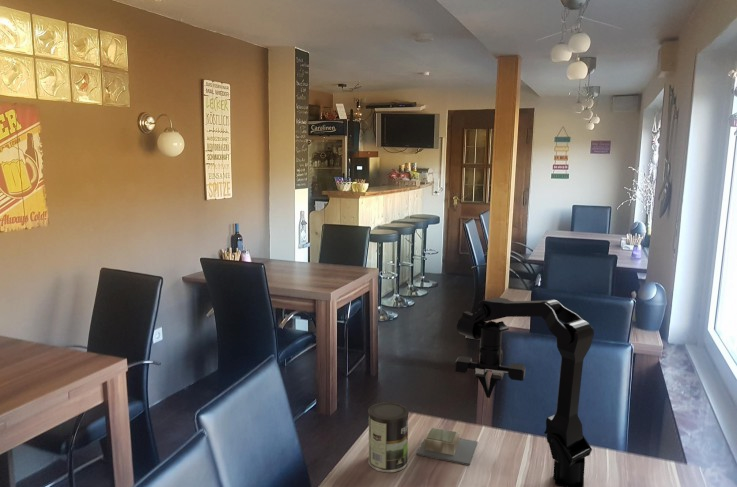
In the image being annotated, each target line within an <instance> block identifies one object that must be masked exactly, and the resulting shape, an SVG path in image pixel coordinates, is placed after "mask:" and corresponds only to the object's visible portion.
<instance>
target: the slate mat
mask: <svg viewBox="0 0 737 487" xmlns="http://www.w3.org/2000/svg"><path fill="white" fill-rule="evenodd" d="M478 444H479V442H478V441H477V440H472V439H466V438H460V437H459V445H458V447H457V449H456V452H455V454H454V455H450V454H445V453H440V452H435V451H430V450H425V449H424V447H425V438H424V439H423V441H422V443H421V445H420V447H419V448H418V450H417V452H416V455H417V456H422V457H427V458H431V459H436V460H441V461H447V462H449V463H451V462H452V463H456V464H462V465H466V466H470V465H471V462H472V460H473V457H474V455H475V451H476V449H477V446H478Z"/></svg>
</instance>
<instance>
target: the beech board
mask: <svg viewBox="0 0 737 487" xmlns="http://www.w3.org/2000/svg"><path fill="white" fill-rule="evenodd" d="M460 433H461V432H460V431H453V430H447V429H444V428H437V427H433V426H432V427H430V429H429V430H428V432H427V433H426V436H425V438H424V439H425V447H424V449H425V450H430V451H435V452H440V453H445V454H450V455H454V454H455V452H456V449H457V447H458V445H459V438H460V437H461V436H460V435H461V434H460Z"/></svg>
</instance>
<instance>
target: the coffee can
mask: <svg viewBox="0 0 737 487" xmlns="http://www.w3.org/2000/svg"><path fill="white" fill-rule="evenodd" d="M367 412H368V465H369V466H370V468H372V469H373V470H376V472H377V471H378V472H382V473H395V472H400V471H402V470H403V469H406V467H407V466H408V463H409V460H408V459H409V458H408V454H409V453H408V451H409V449H408V446H409V445H408V440H409V437H408V436H409V433H408V432H409V412H410V411H409V408H408V407H406V406H405V405H404V404H401V403H398V402H393V401H392V402H391V401H388V402H387V401H383V402H379V403H375V404H373V405H371V406H370V407H369V408H368V409H367Z"/></svg>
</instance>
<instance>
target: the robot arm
mask: <svg viewBox="0 0 737 487" xmlns="http://www.w3.org/2000/svg"><path fill="white" fill-rule="evenodd" d="M461 315H462V316H460V318H459V320H458V321H457V323H456V330H457V332H458V333H459V334H460V335H463V336H466V337H468V338H471V339H474V340H478V339H479V343H478V345H477V351H476V353H477V355H478V356H479V360H478V362H476V361H473V359H472V357H470V356H463V355H459V356H458V357H457V359H456V360H455V362H454V365H453V369H454V372H457V373H462V374H463V373H464V374H466V373H467V372H468V371H469V369H470V370H475V373H474V377H475V378H477V379H478V381H479V382H480V385H481V386H482V388H483V391H484V394H485V397H486V398H488V399H490V398H491V396H492V393H493V391H494V387H495V386H496V384H497V383H498V382H499V381H502V380H503V378H504V375H505V374H508V375H507V376H508V377H509V379H510V380H512V381H520V382H523V381H525V377H526V366H525V364H524V363H517V362H510V364H509V366H507V365H501V364H502V363H503V349H502V334H503V332H507V331H508V330H509V326H508V325H506V324H505V322H504V321H503V320H501V321H498V322H497V321H495V320H499V319H503V318H506V317H507V318H513V317H516V318H517V317H519V318H520V317H524V318H525V317H526V318H529V317H531V318H533V317H535V318H536V317H539V318H542V319H543V320H544V322H545V324H546V327H547V328H548V330H549V332H550V333H551V334H552V335H553V336H554V337H555V338H556V340H555V341H556V348H557V350H558V352H559V354H560V357H561V361H560V369H559V370H560V371H559V372H560V373H559V380H558V381H559V382H558V389H557V390H558V392H557V401H556V403H557V404H556V412H555V413H554V414H553V415H550V416H548V417H546V420H545V431H544V435H545V436H546V441H547V442H546V443H547V444H548V446H549V449H550V454H551V458H552V459H553V479H554V484H555V485H556V486H561V487H585V466H586V465H585V464H586V457H589V456H590V455H591V453H592V451H593V448H592V447H591V445H590V444H589V442H588V440H587V439H586V437H585V436H584V434H583V424H582V422H581V419H580V417H579V415H578V414H579V403H580V396H581V385H582V375H583V366H584V360H585V358H586V355H587V354H588V352H589V350H590V348H591V347H592V342H593V339H594V336H595V333H594V332H595V330H594V328H593V326H592V325H591V324H590V323H589V322H588V321H587V320H584V319H583V318H582V317H581V316H580V315H578V313H576V312H574V311H572V310H571V309H569V308H567V307H566V306H564V305H563V303H561V302H560V301H558V300H556V299H553V298H551V299H548V300H521V301H520V300H517V301H514V300H510V299H508V298H504V297H493V298H489V299H483V300H480V301H479V302H478V303H477V308H476V309H475V311H474V312H473V313H472V312H470V311H463V312H462V314H461ZM562 322H563V323H562ZM489 372H491V376H490V379H489Z"/></svg>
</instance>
